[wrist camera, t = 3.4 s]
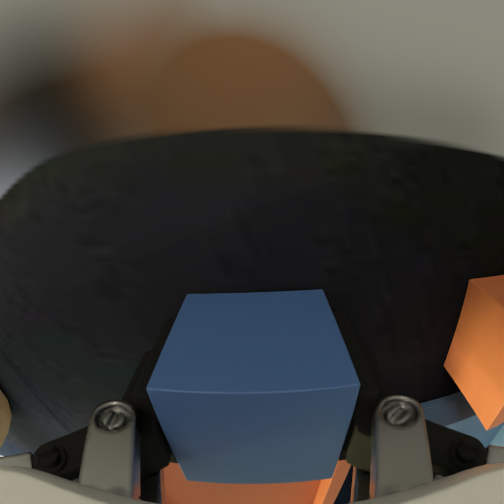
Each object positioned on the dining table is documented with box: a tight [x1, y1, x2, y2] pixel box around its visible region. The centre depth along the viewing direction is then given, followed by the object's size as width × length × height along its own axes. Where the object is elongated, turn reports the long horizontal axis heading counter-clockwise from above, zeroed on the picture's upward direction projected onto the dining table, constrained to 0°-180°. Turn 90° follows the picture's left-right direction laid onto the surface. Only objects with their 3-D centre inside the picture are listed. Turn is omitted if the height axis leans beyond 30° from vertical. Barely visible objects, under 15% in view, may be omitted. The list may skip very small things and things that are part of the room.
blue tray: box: [349, 392, 504, 503], centre depth 13 cm, size 15×13×2 cm
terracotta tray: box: [163, 459, 351, 504], centre depth 14 cm, size 15×13×2 cm
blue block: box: [146, 289, 361, 484], centre depth 8 cm, size 4×4×4 cm
